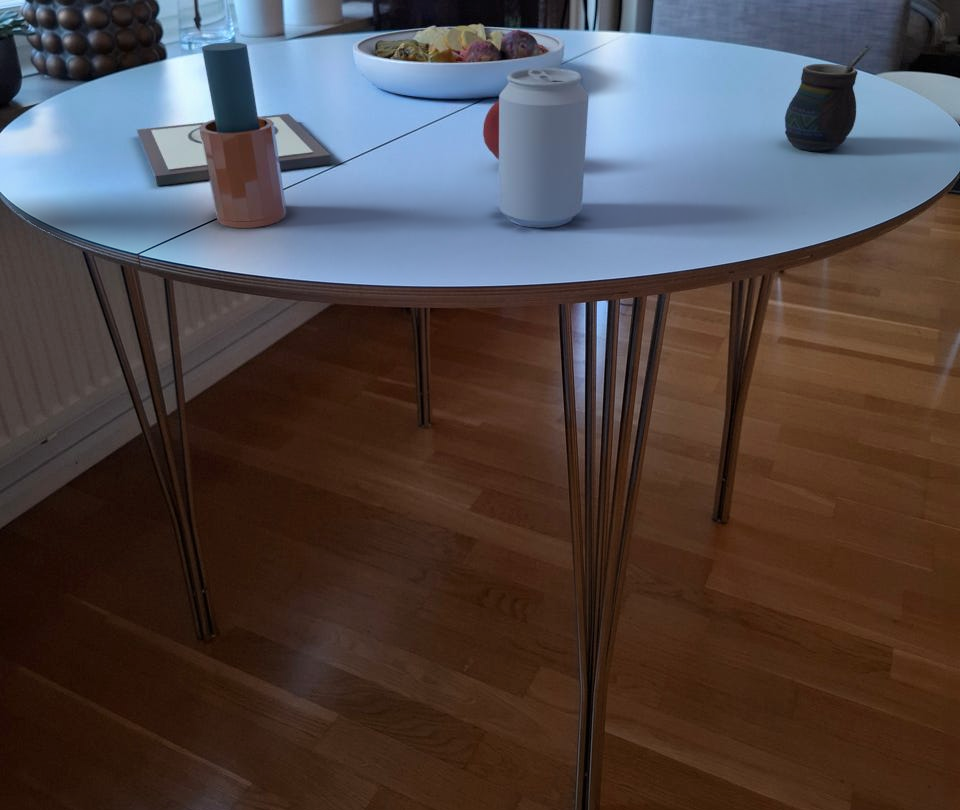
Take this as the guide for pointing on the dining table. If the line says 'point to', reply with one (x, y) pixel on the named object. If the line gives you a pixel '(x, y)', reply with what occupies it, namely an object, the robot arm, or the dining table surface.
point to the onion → (492, 130)
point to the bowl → (453, 59)
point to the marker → (231, 87)
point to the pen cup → (244, 175)
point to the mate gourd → (823, 106)
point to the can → (542, 146)
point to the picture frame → (182, 153)
